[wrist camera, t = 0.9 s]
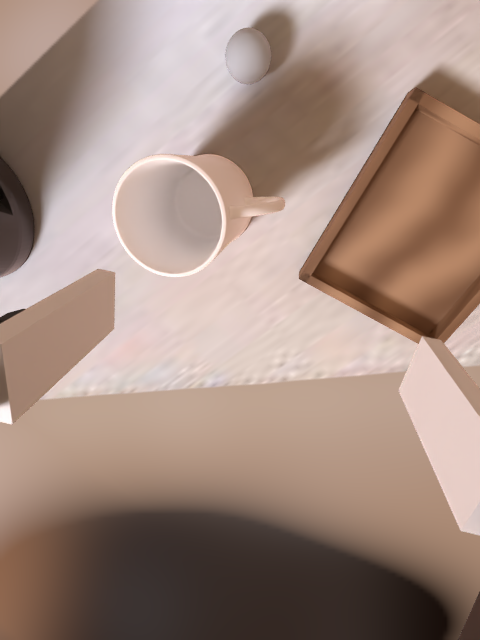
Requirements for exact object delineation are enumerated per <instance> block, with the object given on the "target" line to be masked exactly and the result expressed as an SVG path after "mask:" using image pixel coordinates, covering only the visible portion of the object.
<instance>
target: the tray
mask: <svg viewBox="0 0 480 640" xmlns="http://www.w3.org/2000/svg"><path fill="white" fill-rule="evenodd" d="M299 279H300V280H302V281H304V282H306V283H308V284H309V285H311V286H313V287H315V288H317V289H319V290H320V291H322V292H324V293H326V294H328V295H330V296H332V297H333V298H335V299H337V300H339V301H341V302H343V303H344V304H346V305H348V306H350V307H352V308H354V309H355V310H357V311H359V312H361V313H363V314H365V315H366V316H368V317H370V318H372V319H374V320H376V321H378V322H379V323H381V324H383V325H385V326H387V327H389V328H390V329H392V330H394V331H396V332H398V333H400V334H401V335H403V336H405V337H407V338H409V339H411V340H412V341H414V342H416V343H418V344H419V342H420V340H421V337H422V336H424V337H429V338H434V339H438V340H441V341H442V342H443V343H445V341H446V340H447V339H448V338H449V337H450V336H451V335H452V334H453V333H454V331H455V330H456V329H457V328H458V327H459V326H460V325H461V324H462V322H463V321H464V320H465V319H466V318H467V317H468V316H469V315H470V314H471V312H472V311H473V310H474V309H475V308H476V307H477V306H478V305H479V303H480V124H478V123H477V122H475V121H473V120H472V119H470V118H468V117H466V116H465V115H463V114H461V113H459V112H458V111H456V110H454V109H453V108H451V107H449V106H447V105H446V104H444V103H442V102H440V101H439V100H437V99H435V98H434V97H432V96H430V95H428V94H427V93H425V92H423V91H422V90H420V89H418V88H414V89H413V90H411V91H410V92H408V93H407V95H406V96H405V98H404V100H403V101H402V103H401V105H400V106H399V108H398V110H397V111H396V113H395V115H394V116H393V118H392V120H391V121H390V123H389V124H388V126H387V128H386V129H385V131H384V133H383V134H382V136H381V138H380V139H379V141H378V143H377V144H376V146H375V148H374V149H373V151H372V153H371V154H370V156H369V158H368V159H367V161H366V162H365V164H364V166H363V167H362V169H361V171H360V172H359V174H358V176H357V177H356V179H355V181H354V182H353V184H352V186H351V187H350V189H349V191H348V192H347V194H346V196H345V197H344V199H343V200H342V202H341V204H340V205H339V207H338V209H337V210H336V212H335V214H334V215H333V217H332V219H331V220H330V222H329V224H328V225H327V227H326V229H325V230H324V232H323V234H322V235H321V237H320V238H319V240H318V242H317V243H316V245H315V247H314V248H313V250H312V252H311V253H310V255H309V257H308V258H307V260H306V262H305V263H304V265H303V267H302V268H301V270H300V272H299Z"/></svg>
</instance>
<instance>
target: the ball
mask: <svg viewBox="0 0 480 640" xmlns="http://www.w3.org/2000/svg"><path fill="white" fill-rule="evenodd" d="M225 57H226V65H227V68H228V70H229V72H230V74H231V76H232V77H233V78H234V79H235V80H237V81H238V82H240V83H242V84H253V83H256V82H258V81H259V80H261V79H262V78H263V77H264V76H265V74H266V73H267V71H268V69H269V66H270V63H271V49H270V45H269V43H268V40H267V39H266V37H265V36H264V35H263V34H262V33H261V32H260V31H258V30H256V29H254V28H243V29H241V30H239V31H237V32H236V33H235V34H234V35H233V36H232V37H231V39H230V40H229V42H228V45H227V48H226V54H225Z"/></svg>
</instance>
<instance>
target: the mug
mask: <svg viewBox="0 0 480 640" xmlns="http://www.w3.org/2000/svg"><path fill="white" fill-rule="evenodd" d="M284 207H285V200H284V199H283V198H281V197H253V192H252V188H251V185H250V183H249V181H248V179H247V177H246V175H245V174H244V172H243V171H242V170H241V169H240V168H239V167H238V166H237V165H236V164H235V163H234V162H232V161H231V160H229V159H227V158H225V157H222V156H219V155H214V154H202V155H198V156H187V155H173V154H158V155H152V156H148V157H146V158H143V159H141V160H139V161H137V162H136V163H134V164H133V165H132V166H131V167H129V168H128V169H127V170H126V172H125V173H124V174H123V175H122V177H121V179H120V180H119V182H118V184H117V187H116V189H115V192H114V196H113V203H112V216H113V222H114V227H115V230H116V233H117V236H118V238H119V240H120V242H121V244H122V245H123V247H124V248H125V250H126V251H127V253H128V254H129V255H130V256H131V257H132V258H133V259H134V260H135V261H136V262H137V263H138V264H140V265H141V266H142V267H144V268H146V269H147V270H149V271H151V272H154V273H156V274H159V275H163V276H168V277H182V276H187V275H191V274H194V273H196V272H198V271H200V270H202V269H203V268H205V267H206V266H207V265H209V264H210V263H211V262H212V261H213V260H214V259H215V258H216V257H217V256H218V255H219V253H220V252H221V251H222V250H223V249H224V248H225V247H226V246H227V245H228V244H229V243H230V242H232V241H234V240H235V239H237V238H238V237H239V236H240V235H241V234H242V233H243V232H244V231H245V229H246V228H247V226H248V224H249V222H250V220H251V217H252V216H259V215H265V214H270V213H275V212H278V211H281V210H283V209H284Z"/></svg>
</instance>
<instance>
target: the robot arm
mask: <svg viewBox="0 0 480 640" xmlns="http://www.w3.org/2000/svg"><path fill="white" fill-rule="evenodd" d="M33 238H34V222H33V215H32V211H31V207H30V204H29V201H28V198H27V195H26V193H25V191H24V189H23V187H22V185H21V183H20V182H19V180H18V178H17V177H16V175H15V174H14V173H13V171H12V170H11V169H10V167H9V166H8V165H7V164H6V163H5V162H4V161H3V160H2V159H1V158H0V277H3V276H6V275H8V274H11V273H12V272H14V271H16V270H17V269H18V268H19V267H20V266H21V265H22V264H23V263H24V262H25V260H26V259H27V257H28V255H29V253H30V251H31V248H32V244H33ZM114 307H115V272H111V271H106V270H101V269H97V270H95V271H93V272H92V273H90V274H88V275H86V276H84V277H83V278H81V279H79V280H77V281H76V282H74V283H72V284H70V285H68V286H67V287H65V288H63V289H61V290H59V291H58V292H56V293H54V294H52V295H51V296H49V297H47V298H45V299H43V300H42V301H40V302H38V303H36V304H34V305H33V306H31V307H29V308H27V309H21V310H17V311H14V312H10V313H7V314H5V315H4V316H2V317H0V422H4V423H8V424H13V423H14V422H16V421H17V420H18V419H19V418H20V417H21V416H22V415H23V414H24V413H25V412H26V411H27V410H28V409H29V408H30V407H32V406H33V404H35V403H36V402H37V401H38V400H39V399H40V398H41V397H42V396H43V395H44V394H45V393H46V392H47V391H49V390H50V389H51V388H52V387H53V386H54V385H55V384H56V383H57V382H58V381H59V380H60V379H61V378H62V377H63V376H64V375H66V374H67V373H68V372H69V371H70V370H71V369H72V368H73V367H74V366H75V365H76V364H77V363H78V362H79V361H80V360H81V359H83V358H84V357H85V356H86V355H87V354H88V353H89V352H90V351H91V350H92V349H93V348H94V347H95V346H96V345H97V344H98V343H100V342H101V341H102V340H103V339H104V338H105V337H106V336H107V335H108V334H109V333H110V332H111V331H112V330H113V329H114ZM399 393H400V395H401V397H402V400H403V402H404V404H405V406H406V409H407V411H408V413H409V415H410V418H411V420H412V422H413V424H414V427H415V429H416V431H417V433H418V436H419V438H420V440H421V443H422V445H423V447H424V449H425V451H426V454H427V456H428V458H429V460H430V463H431V465H432V467H433V469H434V472H435V474H436V476H437V479H438V481H439V483H440V485H441V488H442V490H443V492H444V494H445V497H446V499H447V501H448V503H449V505H450V508H451V510H452V512H453V514H454V517H455V519H456V521H457V524H458V526H459V528H460V530H461V531H464V532H468V533H472V534H476V535H480V388H479V387H478V386H477V385H476V383H475V382H474V381H473V380H472V378H471V377H470V376H469V375H468V373H467V372H466V371H465V370H464V368H463V367H462V366H461V365H460V363H459V362H458V361H457V360H456V358H455V357H454V356H453V355H452V353H451V352H450V351H449V350H448V348H447V347H446V346H445V345H444V343H443V342H442V341H441V340H438V339H434V338H429V337H424V336H422V337H421V340H420V342H419V344H418V346H417V349H416V351H415V353H414V356H413V358H412V360H411V363H410V365H409V367H408V370H407V372H406V374H405V377H404V379H403V381H402V383H401V386H400V388H399ZM458 640H480V592H479V594H478V597H477V599H476V601H475V603H474V605H473V608H472V610H471V612H470V614H469V616H468V619H467V621H466V623H465V625H464V627H463V630H462V632H461V634H460V636H459V639H458Z"/></svg>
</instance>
